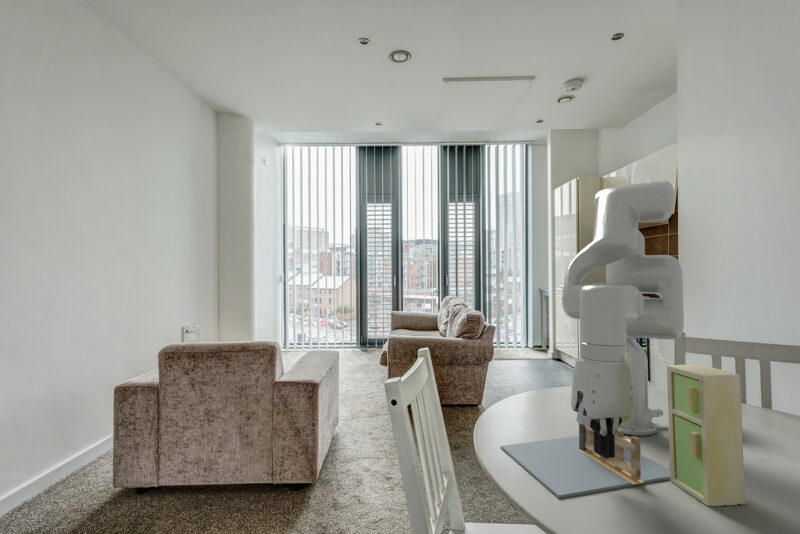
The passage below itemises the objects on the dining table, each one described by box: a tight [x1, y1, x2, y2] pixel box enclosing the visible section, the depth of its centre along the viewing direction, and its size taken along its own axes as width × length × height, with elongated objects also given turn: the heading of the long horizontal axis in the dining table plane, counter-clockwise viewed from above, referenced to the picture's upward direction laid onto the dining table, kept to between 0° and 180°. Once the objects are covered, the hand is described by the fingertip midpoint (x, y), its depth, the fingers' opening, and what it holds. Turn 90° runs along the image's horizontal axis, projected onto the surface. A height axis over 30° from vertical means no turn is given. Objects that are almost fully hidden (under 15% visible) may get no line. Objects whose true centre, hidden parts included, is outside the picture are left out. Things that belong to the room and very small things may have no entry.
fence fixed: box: [578, 421, 598, 451], centre depth 81 cm, size 9×2×9 cm, turn 105°
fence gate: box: [585, 425, 642, 480], centre depth 73 cm, size 12×1×7 cm, turn 15°
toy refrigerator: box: [666, 363, 746, 507], centre depth 65 cm, size 8×7×21 cm
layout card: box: [500, 435, 671, 499], centre depth 75 cm, size 26×20×1 cm
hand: (604, 454), depth 68 cm, fingers closed
